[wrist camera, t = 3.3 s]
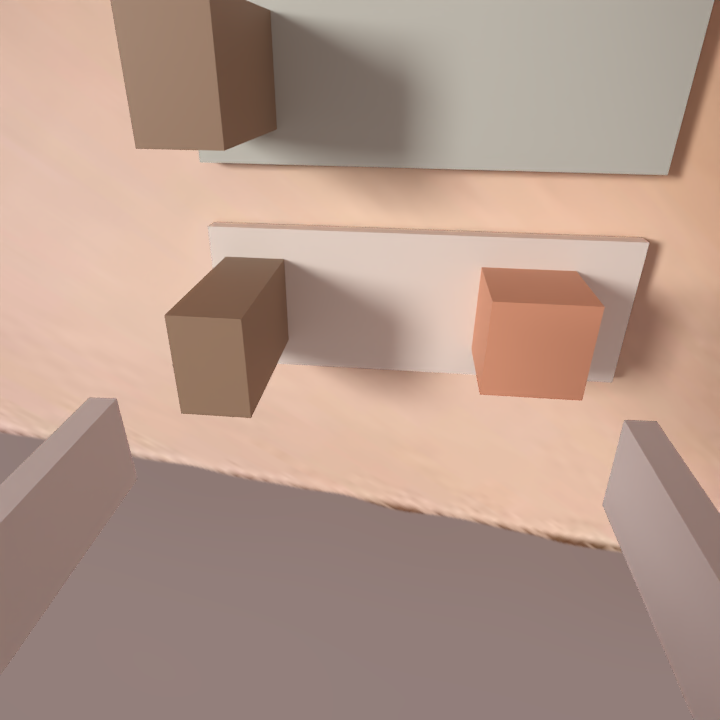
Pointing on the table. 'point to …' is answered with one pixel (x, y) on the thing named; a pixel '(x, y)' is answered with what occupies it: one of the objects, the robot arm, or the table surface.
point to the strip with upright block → (414, 81)
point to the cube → (534, 333)
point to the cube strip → (366, 302)
